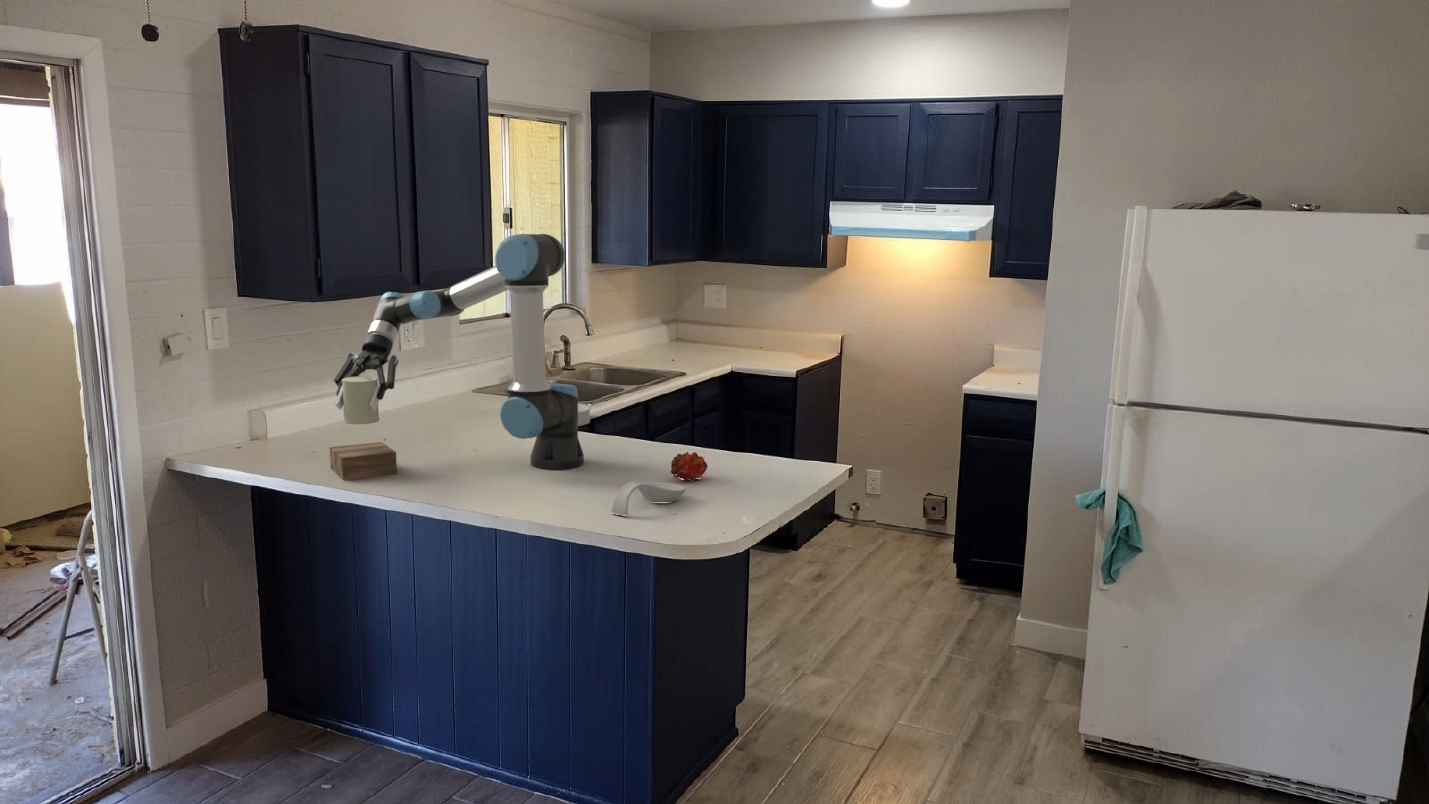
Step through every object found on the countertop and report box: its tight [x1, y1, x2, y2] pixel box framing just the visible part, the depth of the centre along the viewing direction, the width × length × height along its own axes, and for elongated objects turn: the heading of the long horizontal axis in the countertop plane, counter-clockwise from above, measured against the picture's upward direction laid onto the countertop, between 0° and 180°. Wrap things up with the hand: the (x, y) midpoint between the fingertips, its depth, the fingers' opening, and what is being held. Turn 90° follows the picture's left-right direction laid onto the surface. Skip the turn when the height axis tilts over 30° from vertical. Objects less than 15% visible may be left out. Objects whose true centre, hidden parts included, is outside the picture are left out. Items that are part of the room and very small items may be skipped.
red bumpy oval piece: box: [670, 451, 709, 481], centre depth 276 cm, size 8×8×12 cm
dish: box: [578, 402, 591, 427], centre depth 350 cm, size 22×22×5 cm
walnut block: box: [329, 441, 398, 481], centre depth 277 cm, size 14×14×6 cm
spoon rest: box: [611, 480, 687, 516], centre depth 251 cm, size 24×12×7 cm, turn 148°
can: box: [342, 375, 380, 425], centre depth 274 cm, size 9×9×12 cm
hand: (355, 407), depth 271 cm, fingers closed on can, 9 cm apart
